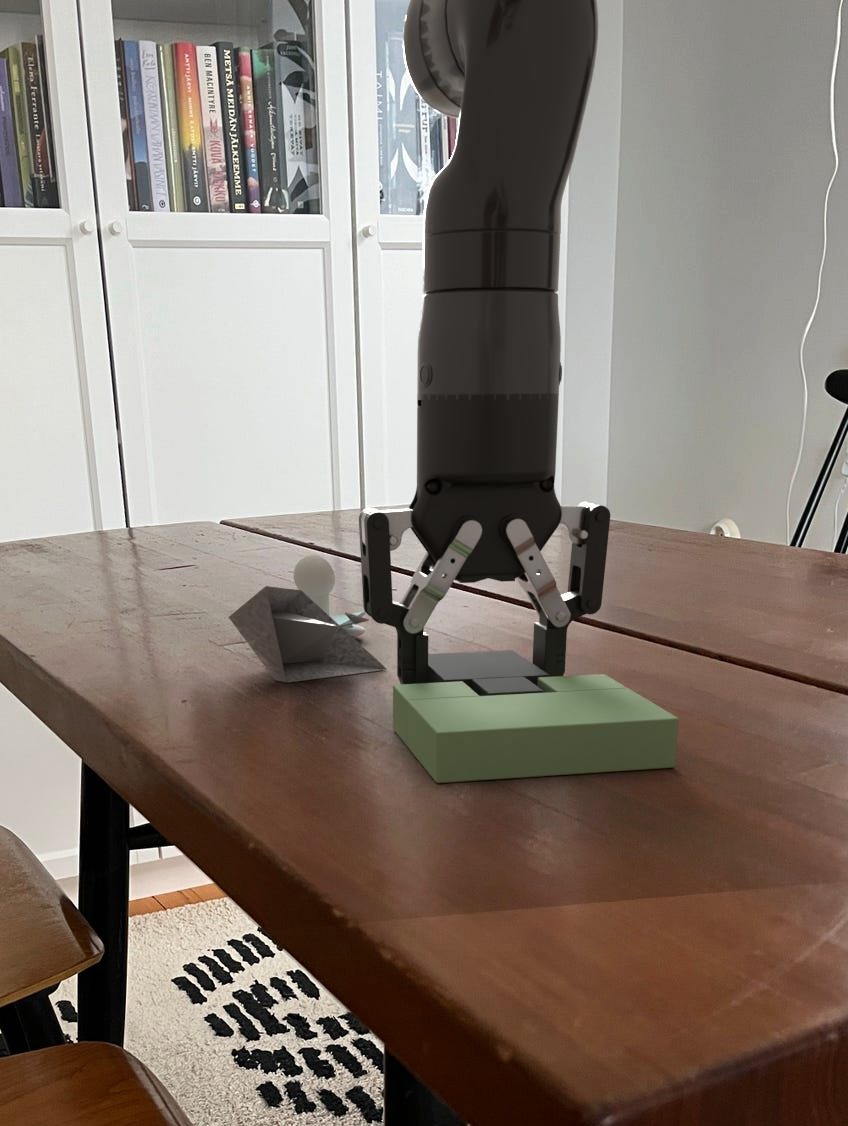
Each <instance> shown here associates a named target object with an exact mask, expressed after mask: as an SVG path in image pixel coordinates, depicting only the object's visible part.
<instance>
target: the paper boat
mask: <svg viewBox="0 0 848 1126" xmlns="http://www.w3.org/2000/svg"><path fill="white" fill-rule="evenodd" d="M352 614H353V613H349V612H345V613H344V615H346V616H347V617H348V618H349V619H350V620H351V621H352V622H351V623H347V624H342V625H339V624H337V623H336V622H335V621H334V620H333V619H332V618H331V617H330V616H331V615H330V614H329V615H328V614H327V613H325V612H324V611H323V610H322V609H321V608H320V607H319V606H318V605H317V604H316V603H315V602H313V601H312V600H311V599H310V598H309V597H308V596H307V595H306V594H305V593H304V592H303V591H301V590H298V589H295V588H284V587H278V586H270V585H265V586H264V587H263V588H262V589H260V590H259V591H258V592H257V593H256V594H254V595H253V596H252V597H251V598H250V599H248V600H247V601H246V602H245V603H244V604H243V605H241V606H240V607H238V609H237V610H235V611H234V612H233V613H232V614H230V615H229V616H228V619H229V620H230V622H231V623H232V625H233V626H234V627H235V629H236V630H237V631H238V632H239V634H240V635H241V636H242V637H243V639H244V640H245V642H246V643H247V644H248V646H249V647H250V649H251V650H252V651H253V652H254V654H255V655H256V657H257V658H258V659H259V660H260V662H261V663H262V665H263V666H264V667H265V668H266V670H267V671H268V673H269V674H270V675H271V677H272V678H273V680H274V681H276V682H281V683H286V684H287V683H293V682H301V681H302V682H303V681H309V680H317V679H325V678H332V677H340V676H347V675H356V674H362V673H363V674H364V673H373V672H378V671H380V672H381V671H387V670H388V668H387V667H386V666H385V665H383V664H382V663H381V662H380V661H379V660H378V659H377V658H376V657H375V656H374V655H372V654H371V653H370V652H369V651H368V650H367V649H366V648H365V647H364V646H363V645H362V644H361V643H359V641H357V640H356V639H355V638H354V637H352V636H351V635H349V634H348V633H347V632H346V631H345V630H344V629H343V628H342V627H343V626H347V625H352V624H354V625H358V624H361V623H366V622H368V621H370V620H369V618H365V617H359V616H356V615H352Z"/></svg>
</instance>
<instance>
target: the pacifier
mask: <svg viewBox="0 0 848 1126" xmlns="http://www.w3.org/2000/svg"><path fill="white" fill-rule="evenodd" d="M293 581H294V585H295V586H296V588H297V590H301V591H303V592H304V593H305V594H306V595H307V596H308V597H309V598H310V599H311V600H312V601H313V602H315V603H316V604H317V605H318V606H319V607H320V608H321V609H322V610H323V611H324V612H325V613H327V614H328V615H329V616H330V617H331V618H332V619H333V620H334V621H335V622H336V623H337V624H339V625H342V624H347V623H351V622H352V621H351V620H350V619H349V618H348V617H347V616H346V615H345V614H341V615H340V614H339V615H330V594H331V592H332V591H333V589H334V587H335V584H336V577H335V572H334V569H333V566H332V565H331V564H330V563H329V562H328V560H327V559H325V558H324V557H322V556H321V555H318V554H307V555H304V556H302V557H301V558H300V559H299V560H298V561H297V562H296V564H295V567H294V570H293ZM351 614H352V615H356V616H359V617H362V618H364V616H365V615H366V612H365V610H362V611H358V612H355V613H351ZM342 628H343V629H344V630H345V631H346V632H347V633H348V634H349V635H351V636H352V637H353V638H354V637H358V636H359V637H360V636H362V635H364V634H365V633H366V628H365V627H363V626H362V625H360V624H359V625H358V624H355V625H354V624H352V625H347V626H343V627H342Z"/></svg>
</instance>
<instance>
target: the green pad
mask: <svg viewBox="0 0 848 1126" xmlns="http://www.w3.org/2000/svg"><path fill="white" fill-rule="evenodd" d="M537 687H539V688H540V689H542V690H543V691H544V693H530V694H511V695H493V696H479V695H478V694H477V693H475V692H474V691H473V690H472V689H471V688H470V687H468V686H467V685H466V684H465V683H464V682H462V681H459V682H440V683H421V684H401V683H400V684H394V685H392V730H393V731H394V732H395V733H396V735H397V736H398V737H399V739H400V740H401V741H402V743H404V744H405V746H406V747H407V749H409V751H410V752H411V753H412V755H413V756H414V757H415V758H416V759H417V760H418V762H419V763H420V765H422V767H423V768H424V769H425V770H426V772H427V773H428V774H429V775H430V777H431V778H432V779H433V781H434V782H435V783H436V784H446V783H461V782H476V781H477V782H478V781H479V782H480V781H492V780H506V779H508V780H509V779H522V778H524V779H525V778H537V777H539V778H540V777H552V776H554V777H555V776H567V775H584V774H598V773H599V774H600V773H613V772H614V773H615V772H627V771H629V772H630V771H641V770H642V771H643V770H657V769H673V768H675V767H676V759H677V746H678V733H679V722H680V718H679V717H677V716H675V715H674V714H672V713H670V712H669V711H668V710H665V709H663V708H662V707H660V706H659V705H657V704H656V703H654V702H652V701H650V700H649V699H647V698H646V697H644V696H643V695H640V694H638V693H637V692H635V691H634V690H632V689H630V688H628V687H627V686H626V685H623V684H622V683H620V682H618V681H617V680H615V679H613V678H612V677H610V676H609V675H607V674H604V673H597V674H596V673H595V674H579V675H578V674H575V675H563V676H556V677H539V678H538V684H537Z"/></svg>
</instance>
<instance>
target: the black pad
mask: <svg viewBox="0 0 848 1126" xmlns="http://www.w3.org/2000/svg"><path fill="white" fill-rule="evenodd" d="M539 677H550V675H549V674H547V673H546V672H544V671H543V670H541V669H540V668H538V667H537V666H536V665H534V664H533V663H532V662H531V661H530V660H528V659H527V658H525V657H524V656H522V655H521V654H519V653H517V652H516V651H515V650H514V649H508V650H507V649H506V650H486V651H485V650H484V651H464V652H442V653H428V683H440V682H459V681H462V682H464V683H465V684H466V685H467V686H468V687H470V688H471V689H472V690H473V691H474V692H475V693H477V694H478V695H479V696H493V695H511V694H530V693H544V691H543V690H542V689H540V688H539V687H537V684H538V678H539Z"/></svg>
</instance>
